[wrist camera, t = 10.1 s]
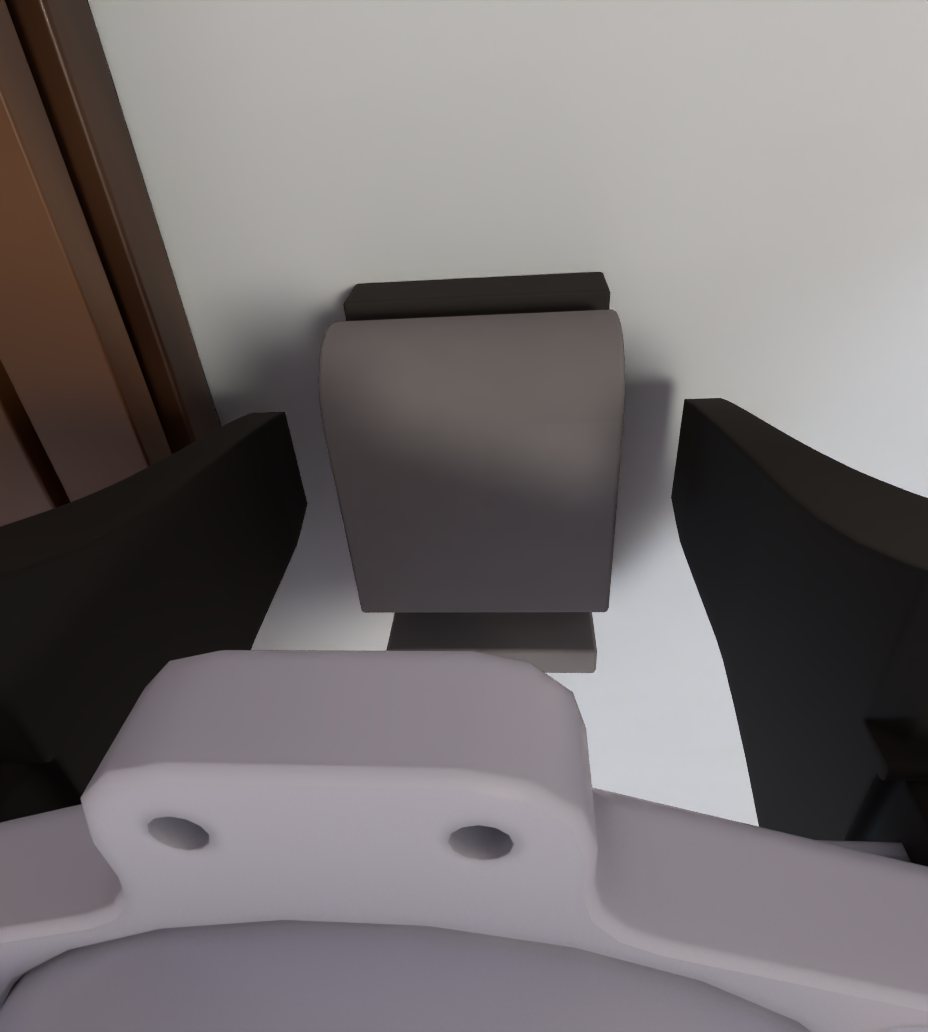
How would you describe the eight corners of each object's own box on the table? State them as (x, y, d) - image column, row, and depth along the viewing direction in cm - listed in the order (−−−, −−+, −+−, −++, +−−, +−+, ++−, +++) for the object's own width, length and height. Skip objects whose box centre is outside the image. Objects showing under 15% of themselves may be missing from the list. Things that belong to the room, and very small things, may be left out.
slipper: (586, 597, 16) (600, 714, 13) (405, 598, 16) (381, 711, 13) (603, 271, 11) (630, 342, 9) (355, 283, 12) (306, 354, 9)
